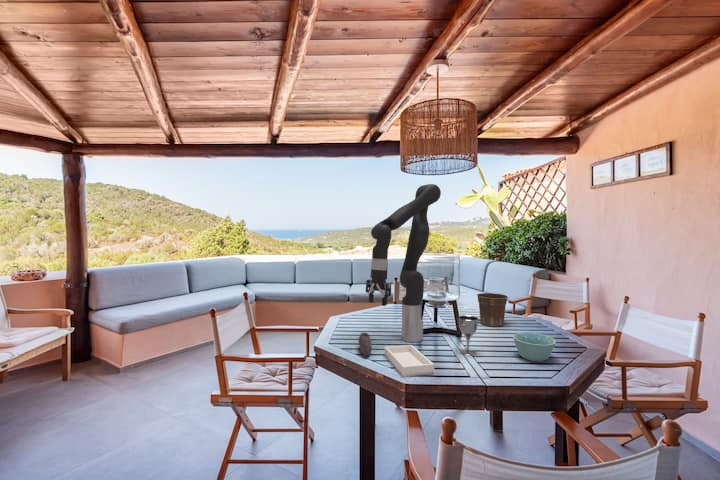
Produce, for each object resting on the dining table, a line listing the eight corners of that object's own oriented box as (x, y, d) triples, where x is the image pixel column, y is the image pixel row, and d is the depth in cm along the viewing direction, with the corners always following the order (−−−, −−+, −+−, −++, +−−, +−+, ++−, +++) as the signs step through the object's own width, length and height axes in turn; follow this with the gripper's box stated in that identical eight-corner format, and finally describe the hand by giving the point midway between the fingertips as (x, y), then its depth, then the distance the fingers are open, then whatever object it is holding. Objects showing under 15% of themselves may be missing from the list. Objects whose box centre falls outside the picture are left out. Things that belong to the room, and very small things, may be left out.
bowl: (554, 368, 133) (554, 347, 133) (509, 360, 142) (510, 340, 141) (556, 355, 146) (556, 336, 146) (515, 348, 155) (516, 330, 155)
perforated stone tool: (373, 359, 142) (373, 342, 142) (360, 359, 142) (360, 342, 142) (370, 346, 157) (370, 331, 157) (358, 347, 157) (358, 331, 157)
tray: (411, 352, 149) (411, 344, 149) (434, 373, 128) (434, 364, 128) (384, 355, 146) (384, 347, 146) (403, 377, 125) (403, 367, 125)
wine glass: (467, 356, 145) (468, 321, 144) (454, 350, 152) (454, 316, 151) (481, 353, 148) (482, 318, 148) (468, 348, 156) (468, 314, 155)
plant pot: (474, 319, 204) (474, 292, 204) (502, 320, 202) (503, 293, 201) (479, 327, 188) (480, 297, 187) (511, 328, 186) (511, 298, 185)
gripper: (396, 270, 156) (394, 306, 156) (374, 267, 167) (372, 300, 167) (384, 270, 151) (382, 307, 151) (362, 267, 162) (360, 302, 162)
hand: (377, 304), depth 159 cm, fingers open, 8 cm apart
